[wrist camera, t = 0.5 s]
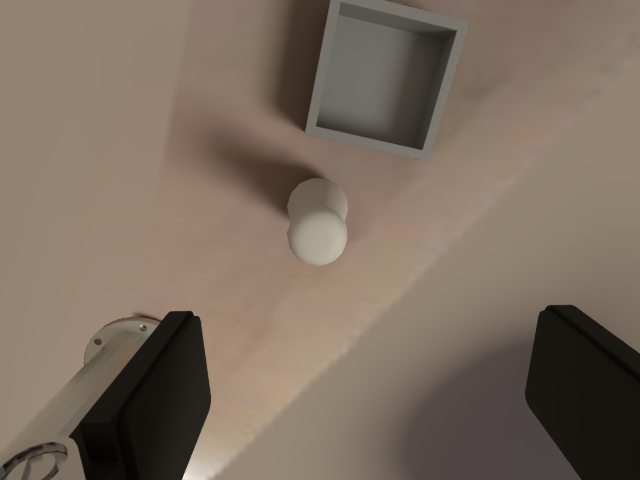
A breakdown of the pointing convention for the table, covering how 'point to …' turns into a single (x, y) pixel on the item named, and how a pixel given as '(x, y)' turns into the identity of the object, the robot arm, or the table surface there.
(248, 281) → the table surface
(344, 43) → the tray
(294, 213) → the salt shaker
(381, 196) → the table surface
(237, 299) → the table surface
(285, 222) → the table surface
